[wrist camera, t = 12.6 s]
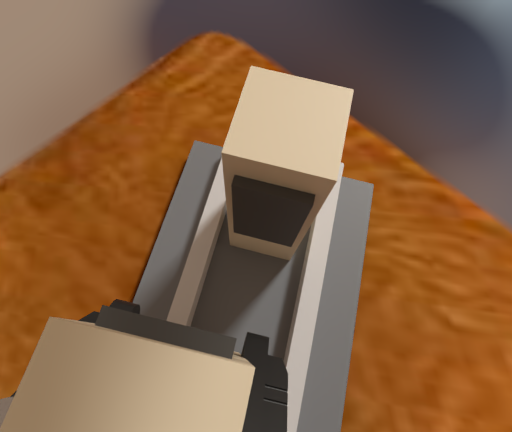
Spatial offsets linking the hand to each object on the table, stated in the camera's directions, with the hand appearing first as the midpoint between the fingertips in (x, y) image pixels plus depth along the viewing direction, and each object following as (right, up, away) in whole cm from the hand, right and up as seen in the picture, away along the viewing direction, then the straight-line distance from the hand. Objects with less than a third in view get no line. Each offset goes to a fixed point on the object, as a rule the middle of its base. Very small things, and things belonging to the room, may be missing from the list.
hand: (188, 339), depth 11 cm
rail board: (+1, -2, +8) cm, 9 cm away
